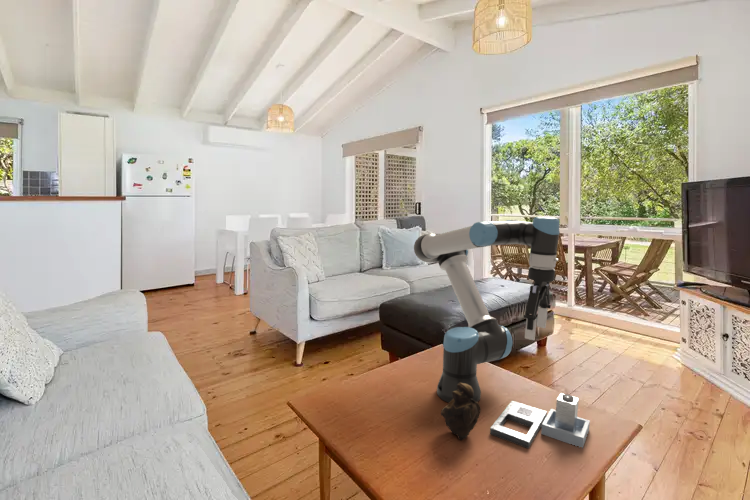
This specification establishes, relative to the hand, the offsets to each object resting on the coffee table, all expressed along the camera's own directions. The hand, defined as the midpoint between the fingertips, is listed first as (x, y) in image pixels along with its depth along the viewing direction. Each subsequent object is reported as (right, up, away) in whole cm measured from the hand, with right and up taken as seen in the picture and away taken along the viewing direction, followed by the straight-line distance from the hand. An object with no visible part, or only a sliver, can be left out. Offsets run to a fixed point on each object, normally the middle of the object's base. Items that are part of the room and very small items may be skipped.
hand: (535, 332), depth 123 cm
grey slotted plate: (-7, -28, -4) cm, 29 cm away
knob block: (+6, -28, -7) cm, 29 cm away
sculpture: (-26, -28, -9) cm, 39 cm away
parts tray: (+6, -28, -7) cm, 30 cm away
